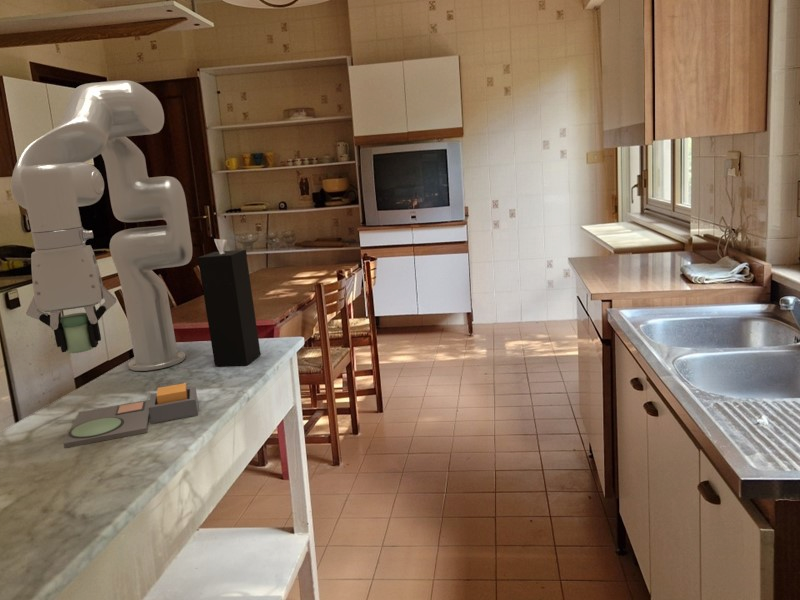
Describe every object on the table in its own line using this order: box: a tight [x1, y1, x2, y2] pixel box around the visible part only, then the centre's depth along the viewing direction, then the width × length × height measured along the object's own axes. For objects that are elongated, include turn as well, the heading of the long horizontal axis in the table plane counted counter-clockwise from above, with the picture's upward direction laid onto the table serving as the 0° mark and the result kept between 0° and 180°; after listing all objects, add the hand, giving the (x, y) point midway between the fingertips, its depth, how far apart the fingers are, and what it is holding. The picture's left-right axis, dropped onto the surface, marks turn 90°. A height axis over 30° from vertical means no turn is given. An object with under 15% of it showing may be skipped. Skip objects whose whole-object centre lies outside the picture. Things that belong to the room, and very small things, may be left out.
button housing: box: [148, 386, 199, 425], centre depth 125 cm, size 8×8×3 cm
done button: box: [156, 382, 188, 404], centre depth 125 cm, size 5×5×2 cm
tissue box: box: [197, 238, 261, 367], centre depth 153 cm, size 8×8×28 cm
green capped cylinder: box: [61, 312, 94, 354], centre depth 116 cm, size 4×4×6 cm
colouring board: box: [63, 399, 150, 449], centre depth 123 cm, size 16×13×1 cm
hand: (80, 346), depth 116 cm, fingers closed on green capped cylinder, 4 cm apart
